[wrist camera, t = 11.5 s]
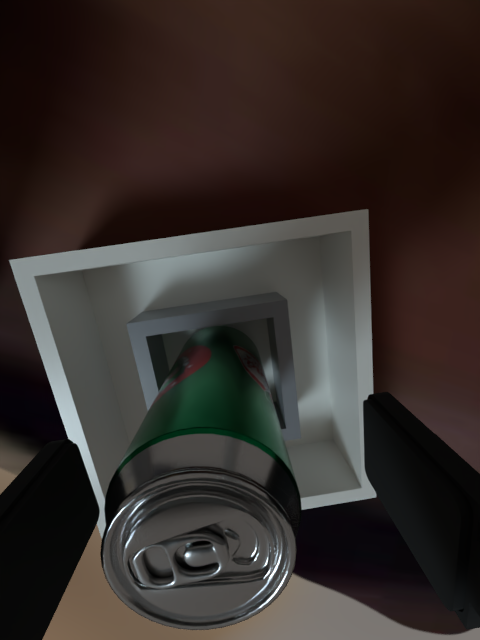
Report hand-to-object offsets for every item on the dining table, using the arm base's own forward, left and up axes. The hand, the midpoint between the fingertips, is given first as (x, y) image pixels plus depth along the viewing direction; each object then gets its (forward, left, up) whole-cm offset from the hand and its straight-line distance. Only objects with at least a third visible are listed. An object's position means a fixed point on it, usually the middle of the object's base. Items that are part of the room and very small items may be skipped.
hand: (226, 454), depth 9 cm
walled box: (0, +1, -10) cm, 10 cm away
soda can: (0, 0, -9) cm, 9 cm away
